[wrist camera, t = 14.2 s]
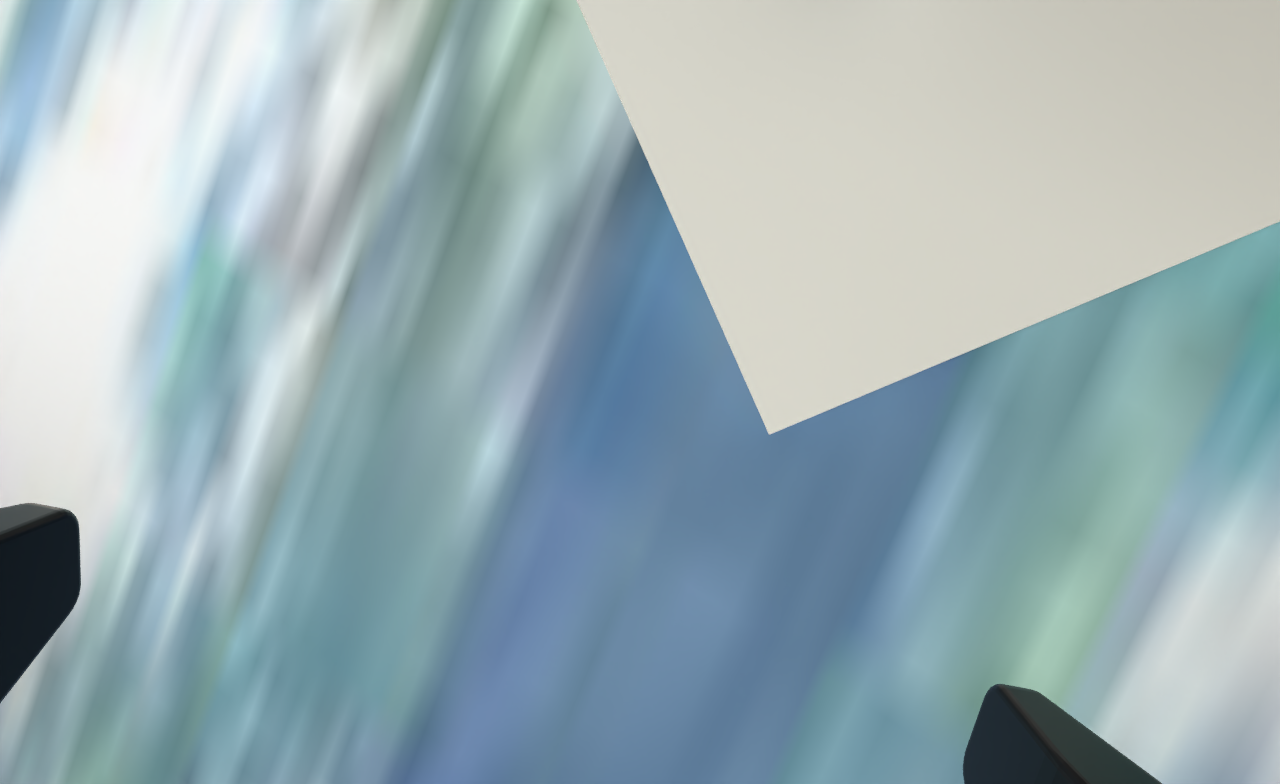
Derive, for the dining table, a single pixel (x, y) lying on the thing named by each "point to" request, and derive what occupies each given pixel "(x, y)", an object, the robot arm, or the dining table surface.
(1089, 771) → the robot arm
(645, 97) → the tray
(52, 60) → the dining table surface
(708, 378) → the dining table surface
